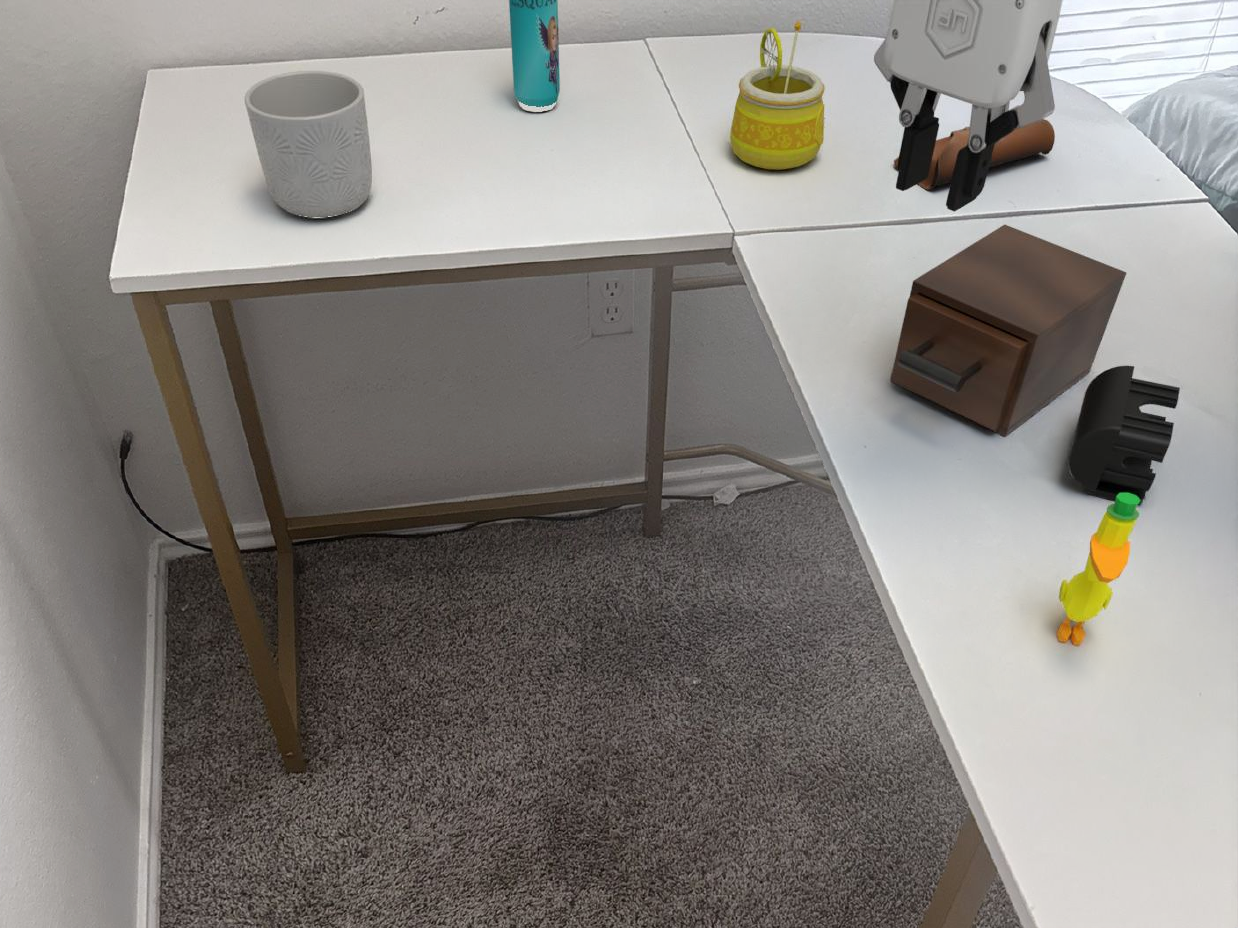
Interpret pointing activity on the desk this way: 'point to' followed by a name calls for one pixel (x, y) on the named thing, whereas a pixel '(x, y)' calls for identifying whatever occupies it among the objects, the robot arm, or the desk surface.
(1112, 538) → the toy figure
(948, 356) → the drawer
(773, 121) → the yellow patterned pot
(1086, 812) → the desk surface
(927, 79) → the robot arm
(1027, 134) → the sunglasses case
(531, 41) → the beverage can
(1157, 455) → the end cap
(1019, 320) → the cabinet
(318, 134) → the planter
